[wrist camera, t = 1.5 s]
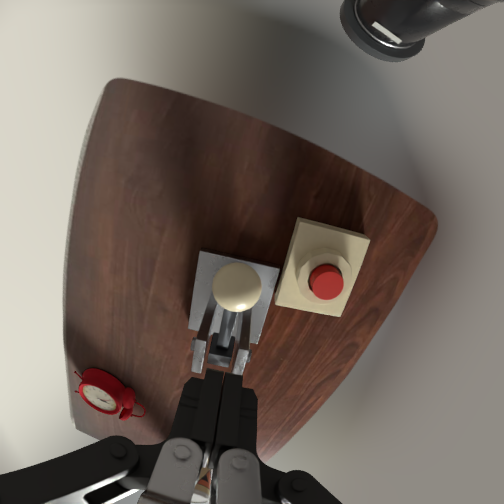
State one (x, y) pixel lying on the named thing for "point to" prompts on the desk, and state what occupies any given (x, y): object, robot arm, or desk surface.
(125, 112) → the desk surface
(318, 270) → the button
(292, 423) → the desk surface
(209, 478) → the cream tin can
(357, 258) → the control block
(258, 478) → the robot arm
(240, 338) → the bracket
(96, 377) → the alarm clock
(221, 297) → the lever
